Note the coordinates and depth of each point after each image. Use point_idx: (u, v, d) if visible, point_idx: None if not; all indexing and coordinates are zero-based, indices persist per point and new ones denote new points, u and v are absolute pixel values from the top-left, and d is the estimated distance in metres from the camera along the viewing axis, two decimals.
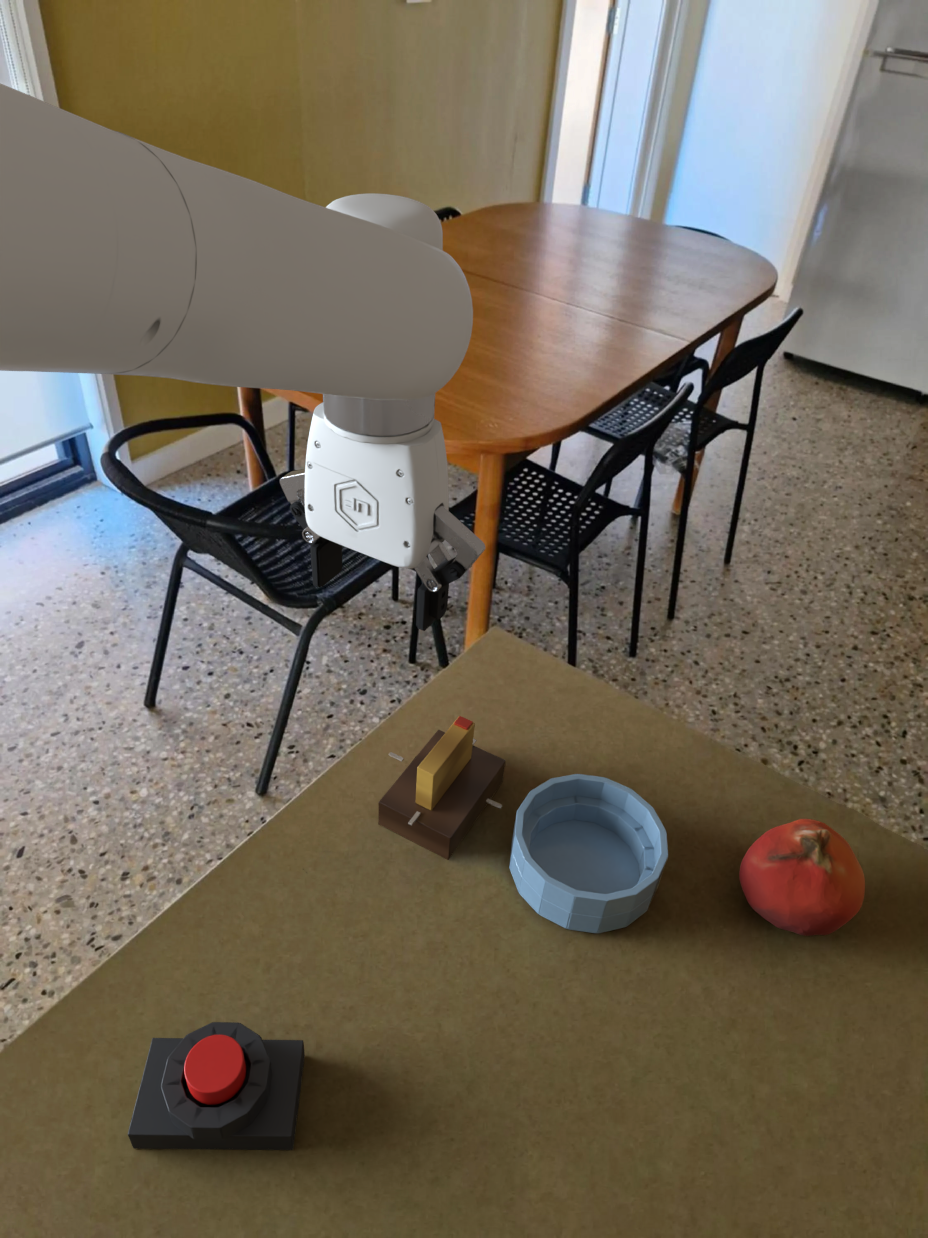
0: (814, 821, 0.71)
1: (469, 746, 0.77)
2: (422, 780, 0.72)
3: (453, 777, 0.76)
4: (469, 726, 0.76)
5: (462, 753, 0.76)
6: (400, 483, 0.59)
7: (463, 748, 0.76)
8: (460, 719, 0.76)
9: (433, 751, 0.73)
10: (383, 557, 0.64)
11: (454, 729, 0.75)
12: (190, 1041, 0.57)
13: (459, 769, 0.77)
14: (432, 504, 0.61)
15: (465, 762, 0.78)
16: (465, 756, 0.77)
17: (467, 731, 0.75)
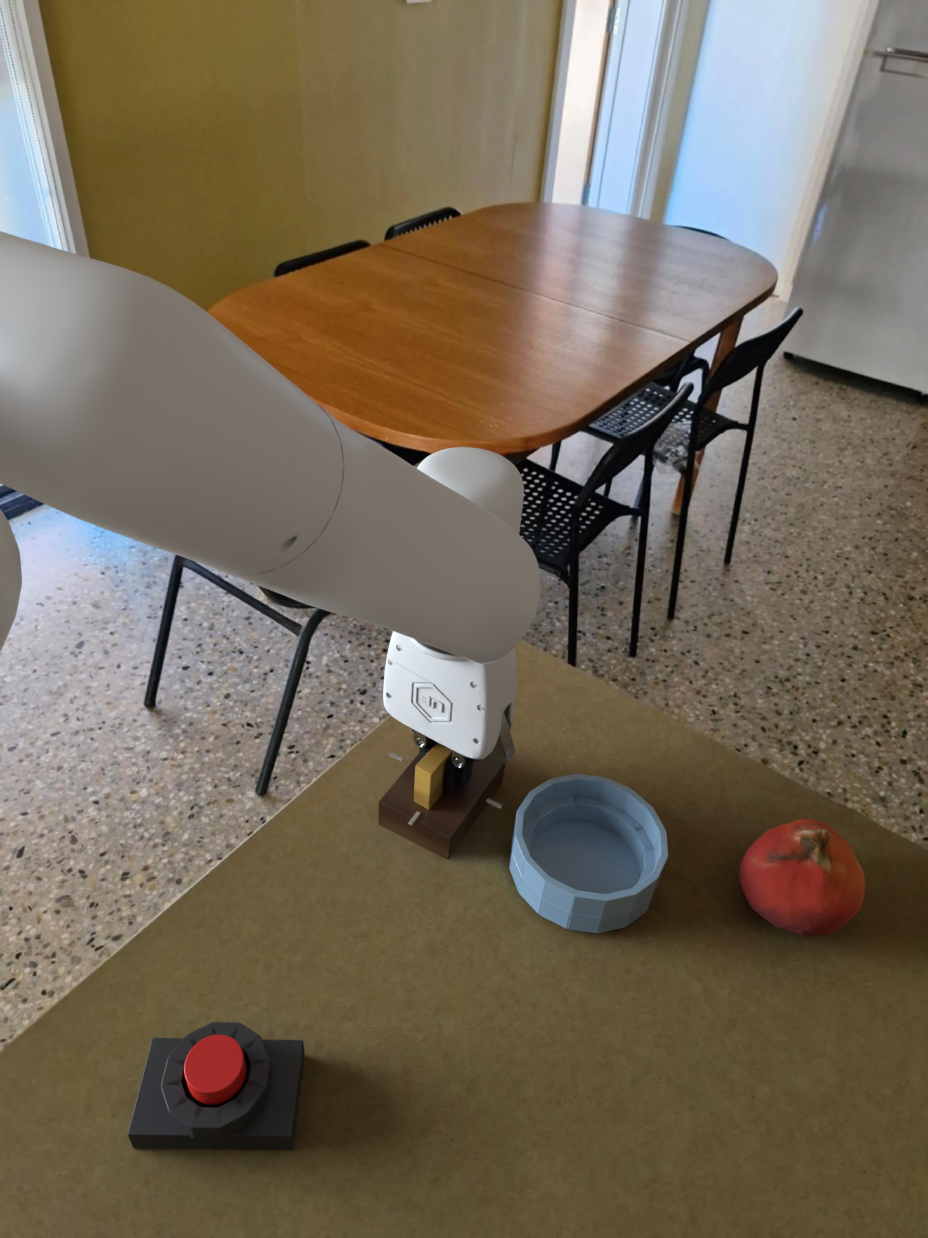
0: (814, 821, 0.71)
1: None
2: (420, 779, 0.73)
3: None
4: None
5: None
6: (473, 693, 0.65)
7: None
8: None
9: (433, 751, 0.73)
10: (453, 747, 0.69)
11: None
12: (190, 1041, 0.57)
13: None
14: (501, 707, 0.67)
15: None
16: None
17: None
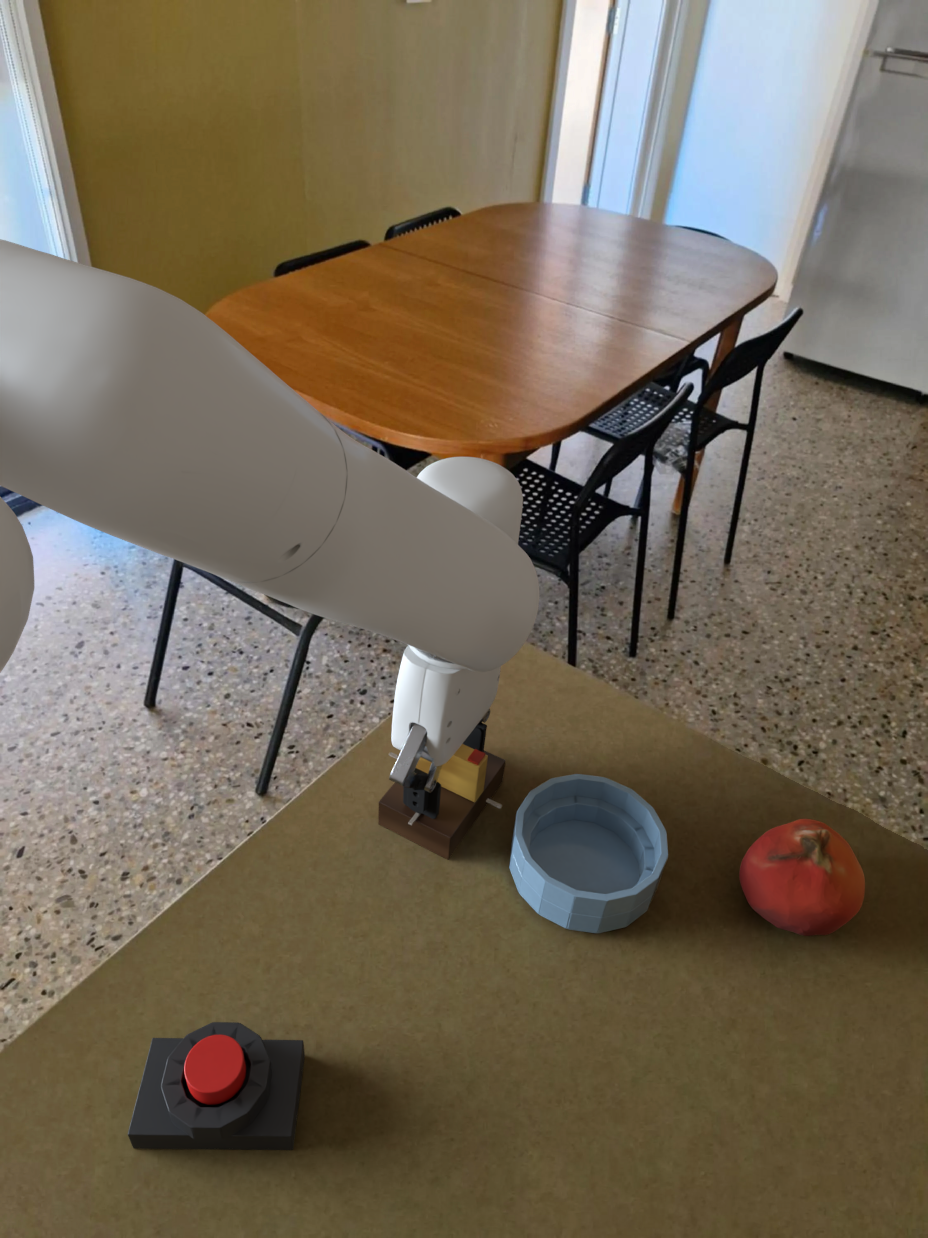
0: (814, 821, 0.71)
1: (469, 782, 0.74)
2: None
3: (441, 781, 0.76)
4: (472, 761, 0.73)
5: (455, 773, 0.74)
6: None
7: (458, 771, 0.74)
8: (479, 753, 0.73)
9: None
10: None
11: (468, 750, 0.74)
12: (190, 1041, 0.57)
13: (452, 786, 0.76)
14: (408, 714, 0.66)
15: (463, 793, 0.75)
16: (462, 786, 0.75)
17: (466, 761, 0.73)
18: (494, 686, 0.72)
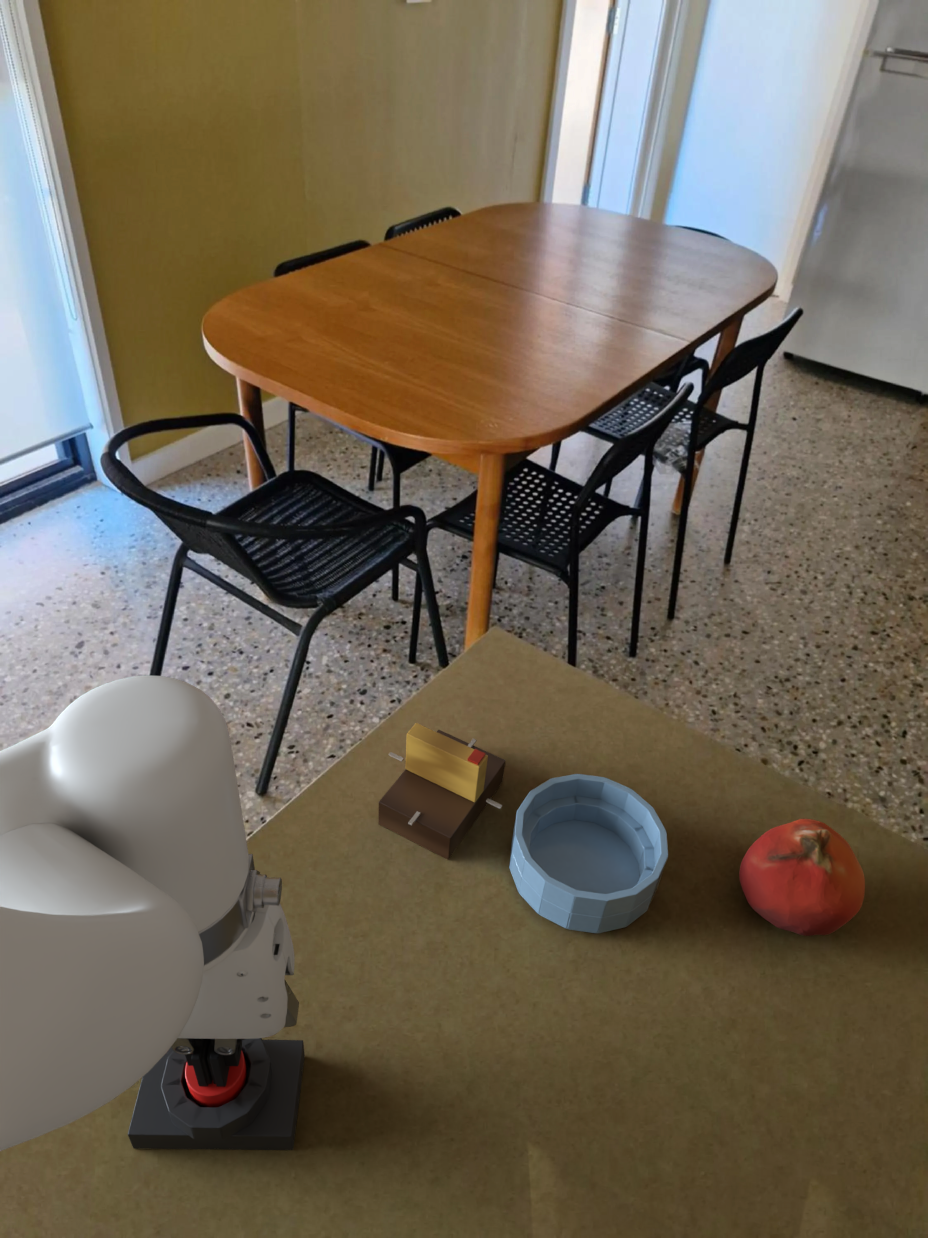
0: (814, 821, 0.71)
1: (469, 782, 0.74)
2: None
3: (441, 781, 0.76)
4: (472, 761, 0.73)
5: (455, 773, 0.74)
6: None
7: (458, 771, 0.74)
8: (479, 753, 0.73)
9: (436, 734, 0.75)
10: None
11: (468, 750, 0.74)
12: None
13: (452, 786, 0.76)
14: None
15: (463, 793, 0.75)
16: (462, 786, 0.75)
17: (466, 761, 0.73)
18: (250, 1019, 0.48)
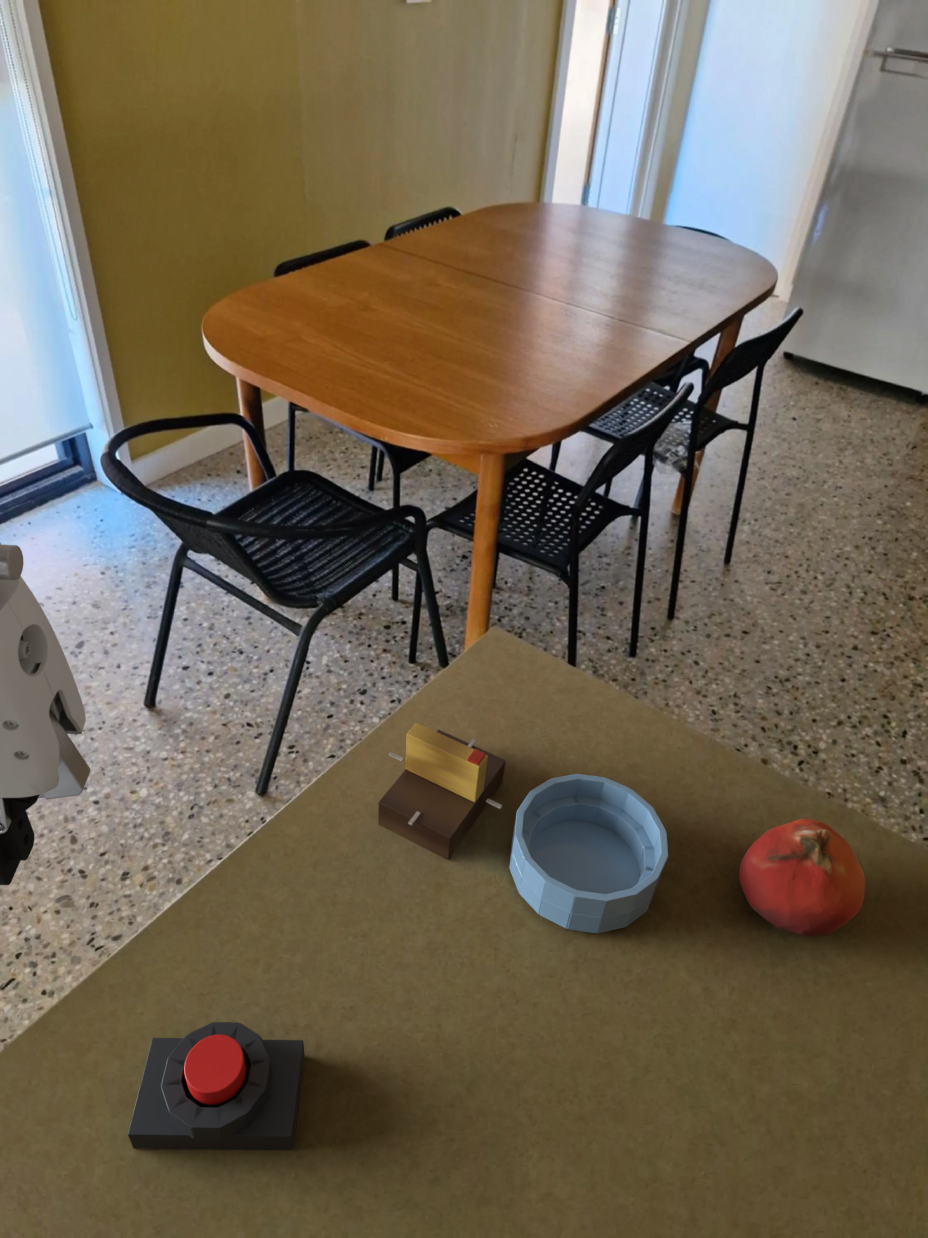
0: (814, 821, 0.71)
1: (469, 782, 0.74)
2: None
3: (441, 781, 0.76)
4: (472, 761, 0.73)
5: (455, 773, 0.74)
6: None
7: (458, 771, 0.74)
8: (479, 753, 0.73)
9: (436, 734, 0.75)
10: None
11: (468, 750, 0.74)
12: (190, 1041, 0.57)
13: (452, 786, 0.76)
14: None
15: (463, 793, 0.75)
16: (462, 786, 0.75)
17: (466, 761, 0.73)
18: (2, 760, 0.37)
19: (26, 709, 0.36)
